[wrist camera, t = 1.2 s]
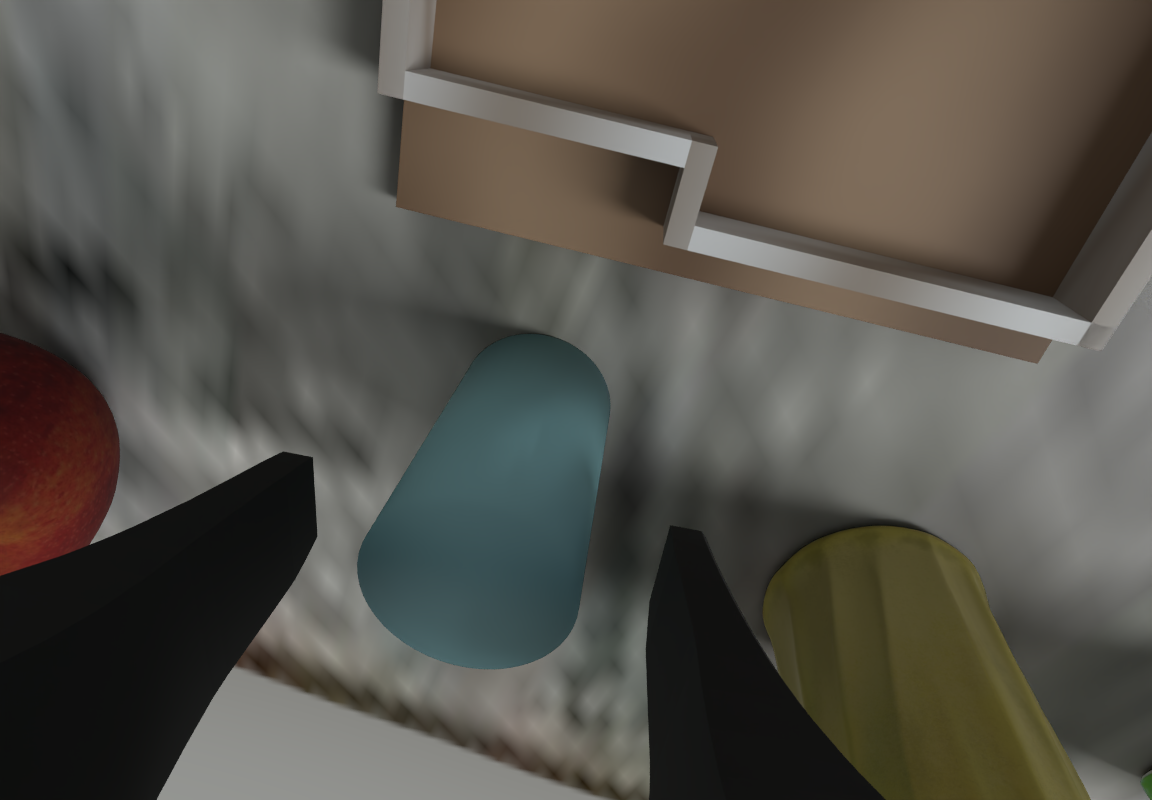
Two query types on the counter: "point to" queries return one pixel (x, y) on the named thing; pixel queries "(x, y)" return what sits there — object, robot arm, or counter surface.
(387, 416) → the counter surface
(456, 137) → the brown tray
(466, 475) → the peg
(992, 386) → the counter surface
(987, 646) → the vase
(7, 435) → the apple
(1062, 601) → the counter surface
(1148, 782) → the syrup box
